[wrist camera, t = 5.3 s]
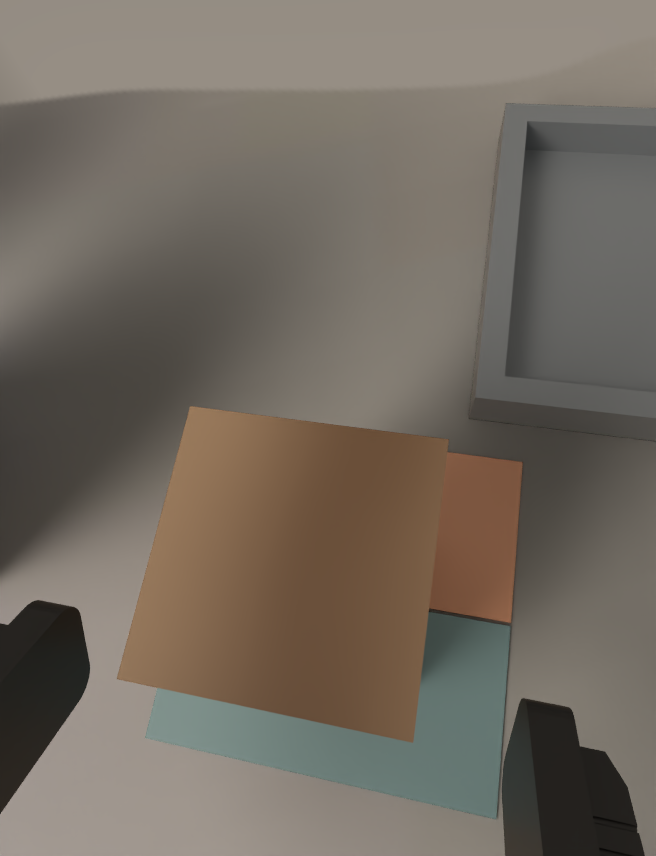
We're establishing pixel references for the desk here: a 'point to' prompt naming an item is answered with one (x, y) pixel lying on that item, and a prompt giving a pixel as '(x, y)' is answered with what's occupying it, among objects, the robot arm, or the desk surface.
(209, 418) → the walnut block
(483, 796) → the tiles
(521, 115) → the tray
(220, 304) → the desk surface
